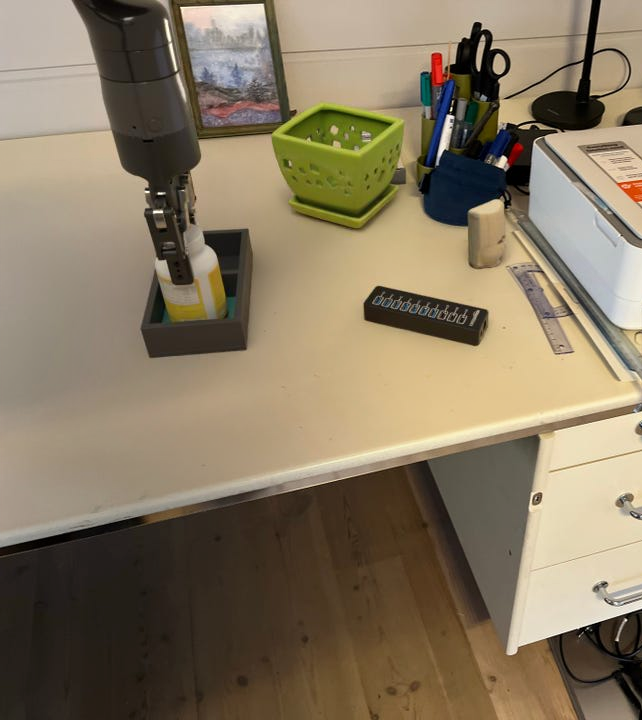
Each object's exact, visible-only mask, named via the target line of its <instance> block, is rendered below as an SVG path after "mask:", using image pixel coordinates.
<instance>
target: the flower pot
mask: <svg viewBox="0 0 642 720" xmlns="http://www.w3.org/2000/svg"><path fill="white" fill-rule="evenodd" d="M333 126H334V127H335V128H336V129H337V132H336V133H334V132H333V131H331V130H332V127H333ZM352 127H353V130H352ZM363 132H365V133H369V134H370V141H366V140H364V139H363ZM346 134H347V135H348V138H347V139H346V136H345V135H346ZM404 134H405V120H404V119H402V118H400V117H395V116H391V115H387V114H383V113H379V112H374V111H370V110H366V109H361V108H357V107H352V106H347V105H342V104H337V103H331V102H326V101H322V102H319V103H317V104H315V105H313V106H312V107H310V108H308V109H306V110H305V111H302V112H301V113H299V114H298V115H296V116H294V117H293V118H291V119H289V120H288V121H287V122H285V123H284V124H282V125H281V126H279V127H278V128H277V129H276V130H274V131H273V132H272V133H271V135H270V136H271V143H272V148H273V152H274V156H275V158H276V161H277V164H278V168H279V170H280V172H281V175H282V177H283V179H284V181H285V183H286V184H287V186H288V188H289V189H290V190H291V192H292V193H293V194H294V196H293V197H291V198H290V199H289V201H288V205H289V206H290V208H292V209H293V210H295V211H296V212H298V213H300V214H303V215H305V216H309V217H313V218H317V219H319V220H323V221H328V222H331V223H333V224H334V223H335V224H338V225H341V226H345V227H349V228H353V229H360V228H361V227H362V226H364V225H365V224H366V223H367V222H368V221H369V220H370V219H371V218H373V217H374V216H375V215H376V214H377V213H378V212H380V211H381V210H382V208H384V207H385V206H386V205H387V204H388V203H389V202H390V201H392V199H394V197H395V196H396V194H397V193H398V191H399V189H400V187H399V185H397V184H393V183H391V181H392V180H393V177H394V175H395V172H396V170H397V168H398V164H399V161H400V159H401V153H402V148H403V143H404ZM308 139H310V140H308ZM334 142H337V143H339V144H340V147H339V146H334ZM355 146H356V147H358V148H359V149H358V150H355ZM290 163H291V165H290Z"/></svg>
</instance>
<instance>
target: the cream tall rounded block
mask: <svg viewBox="0 0 642 720" xmlns="http://www.w3.org/2000/svg"><path fill="white" fill-rule="evenodd" d="M467 246H468V247H467V253H468V254H467V255H468V264H469V266H470V267H472V268H474V269H483V268H493V267H496V266H498V265H499V264H501V260H500V259H501V258H502V257H503V256H504V253H505V252H506V249H507V226H506V217H505V203H504V202H503V201H502V200H501V199H499V198H497V199H492V200H490V201H488V202H485V203H483V204H480V205H477V206H475V207H473V208H470V209H469V210H468V212H467Z"/></svg>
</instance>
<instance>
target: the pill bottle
mask: <svg viewBox="0 0 642 720" xmlns="http://www.w3.org/2000/svg"><path fill="white" fill-rule="evenodd" d="M202 231H203V230H202V228H201V227H200V226H199V225H197V224H196V225H194V224H190V230H189V231H187V232H186V238H187V246H188V247H189V252H188V253H189V257H190V261H191V266H192V270H193V274H194V282H193V284H191V285H174V284H173V283H172V281H171V277H170V274H169V270H168V266H167V262H166V260H164V261H159V260H158V258H157V257H156V258H155V261H154V270H155V269H156V273H157V276H158V280H159V283H160V287H161V290H162V294H163V297H164V301H165V304H166V308H167V311H168V315H169V318H170V321H171V322H182V321H195V320H209V319H222V318H228V315H229V311H228V306H227V301H226V296H225V292H224V287H223V283H222V278H221V273H220V268H219V264H218V259H217V256H216V254H215V252H214V251H213V249H211V248H210V247H209V246H207V245H205V241H204V236H203V232H202ZM167 244H174V243H173V242H167Z"/></svg>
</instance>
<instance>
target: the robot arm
mask: <svg viewBox="0 0 642 720" xmlns="http://www.w3.org/2000/svg"><path fill="white" fill-rule="evenodd" d="M71 2H72V4H73V7H74V8H75V10H76V12H77V14H78V15H79V17H80V19H81V21H82V23H83V25H84V27H85V28H86V32H87V35H88V39H89V43H90V47H91V50H92V55H93V58H94V62H95V65H96V69H97V72H98V77H99V81H100V91H101V95H102V97H101V98H102V102H103V105H104V108H105V112H106V115H107V119H108V123H109V127H110V130H111V133H112V137H113V141H114V145H115V148H116V151H117V156H118V159H119V162H120V165H121V167H122V169H123V170H124V171H125V172H127V173H128V174H129V175H132V176H134V177H139V178H140V179H143V180H145V181H146V182H147V186H145V187H144V198H145V202H146V204H147V205H148V207H145V208H144V211H143V217H144V218H145V221H146V224H147V228H148V232H149V234H150V238H151V241H152V244H153V247H154V252H155V257H156V258H158V260H159V261H164V260H166V262H167V266H168V270H169V274H170V277H171V281H172V283H173V284H174V285H191V284H193V282H194V274H193V270H192V266H191V261H190V257H189V253H188V252H189V247H188V246H187V238H186V232H187V231H189V230H190V224H194V225H196V226H197V222H196V214H197V209H196V208H195V205H196V203H197V195H196V192H195V187H194V183H193V182H194V181H193V178H192V173H191V172H192V170H194V169H196V167H197V166H198V165H199V163H200V162H201V160H202V152H201V148H200V147H201V146H200V141H199V137H198V132H197V127H196V122H195V118H194V113H193V107H192V102H191V98H190V92H189V89H188V87H187V86H188V85H187V82H186V80H185V78H184V75H183V72H182V67H181V63H180V58H179V53H178V48H177V44H176V38H175V34H174V29H173V24H172V20H171V16H170V14H169V12H168V9H167V8H166V7H165V5H164V4H163V3H162V2H161V1H159V0H71ZM167 242H173V243H174V244H167Z"/></svg>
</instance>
